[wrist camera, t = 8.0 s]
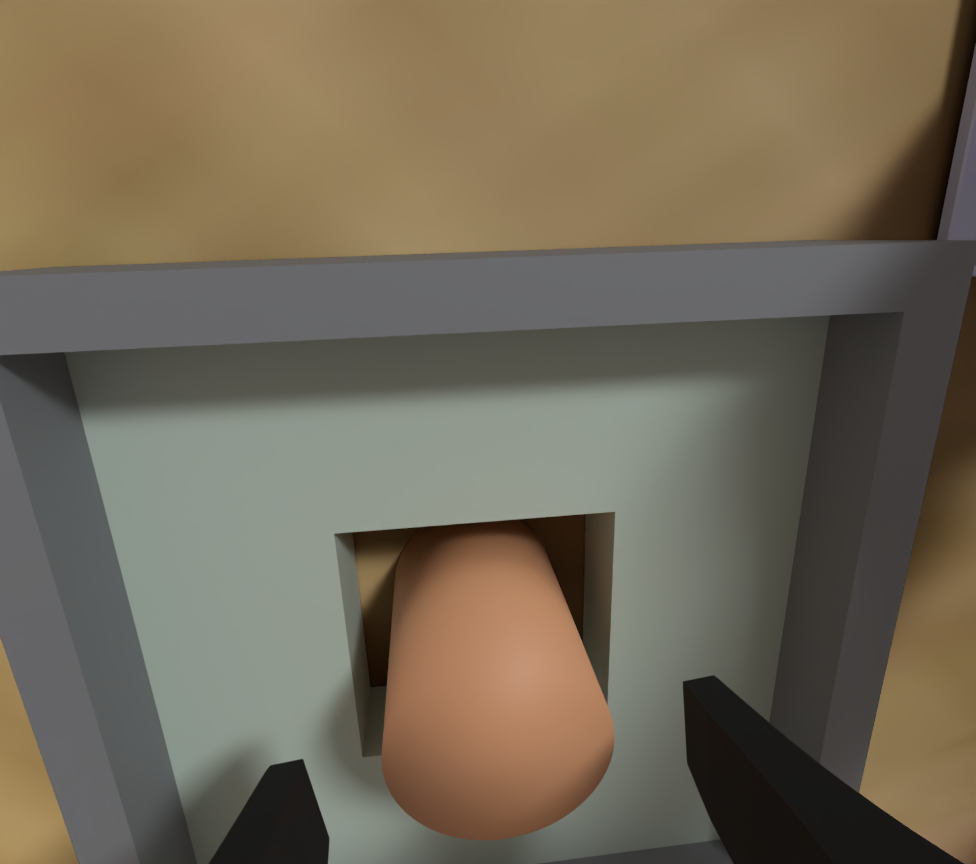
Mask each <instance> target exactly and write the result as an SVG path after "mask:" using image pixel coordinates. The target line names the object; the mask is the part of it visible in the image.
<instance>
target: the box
mask: <svg viewBox="0 0 976 864" xmlns="http://www.w3.org/2000/svg"><path fill="white" fill-rule="evenodd" d="M975 261H976V240H805V241H776V242H748V243H720V244H692V245H664V246H636V247H608V248H580V249H552V250H524V251H496V252H468V253H440V254H412V255H384V256H356V257H328V258H300V259H272V260H244V261H215V262H187V263H159V264H131V265H103V266H75V267H51V268H37V269H24V270H11V271H0V637H1V640H2V643H3V646H4V649H5V652H6V655H7V658H8V660H9V663H10V666H11V669H12V672H13V675H14V678H15V681H16V683H17V686H18V689H19V692H20V695H21V698H22V701H23V704H24V707H25V709H26V712H27V715H28V718H29V721H30V724H31V727H32V730H33V732H34V735H35V738H36V741H37V744H38V747H39V750H40V753H41V755H42V758H43V761H44V764H45V767H46V770H47V773H48V776H49V779H50V781H51V784H52V787H53V790H54V793H55V796H56V799H57V802H58V804H59V807H60V810H61V813H62V816H63V819H64V822H65V825H66V827H67V830H68V833H69V836H70V839H71V842H72V845H73V848H74V851H75V853H76V856H77V859H78V862H79V864H208V863H209V862H210V860H211V859H212V857H213V856H214V854H215V853H216V851H217V849H218V848H219V846H220V845H221V843H222V841H223V840H224V838H225V837H226V835H227V833H228V832H229V830H230V829H231V827H232V825H233V824H234V822H235V820H236V819H237V817H238V816H239V814H240V812H241V811H242V809H243V807H244V806H245V804H246V802H247V801H248V799H249V797H250V796H251V794H252V792H253V791H254V789H255V788H256V786H257V784H258V783H259V781H260V779H261V778H262V776H263V774H264V773H265V771H266V770H267V769H268V767H269V766H270V765H274V764H279V763H284V762H289V761H294V760H299V759H303V760H304V763H305V766H306V769H307V772H308V775H309V778H310V781H311V784H312V787H313V790H314V793H315V796H316V799H317V802H318V805H319V808H320V811H321V814H322V817H323V820H324V823H325V826H326V829H327V832H328V835H329V838H330V840H329V855H328V864H733V862H732V860H731V858H730V856H729V854H728V852H727V850H726V849H725V847H724V845H723V843H722V841H721V839H720V837H719V835H718V833H717V832H716V830H715V828H714V826H713V824H712V822H711V820H710V818H709V815H708V813H707V811H706V808H705V806H704V803H703V801H702V799H701V796H700V794H699V792H698V789H697V787H696V784H695V782H694V779H693V777H692V774H691V772H690V769H689V767H688V764H687V755H686V736H685V717H684V699H683V681H688V680H692V679H697V678H702V677H707V676H712V675H714V676H716V677H717V678H718V679H720V680H721V681H722V682H723V683H724V684H725V685H727V686H728V687H729V688H730V689H731V690H732V691H733V692H735V693H736V694H737V695H738V696H739V697H740V698H741V699H743V700H744V701H745V702H746V703H747V704H748V705H749V706H751V707H752V708H753V709H754V710H755V711H756V712H758V713H759V714H760V715H761V716H762V717H763V718H765V719H766V720H767V721H768V722H769V723H771V724H772V725H773V726H774V727H775V728H776V729H778V730H779V731H780V732H781V733H782V734H784V735H785V736H786V737H787V738H789V739H790V740H791V741H792V742H793V743H795V744H796V745H797V746H798V747H800V748H801V749H802V750H804V751H805V752H806V753H807V754H809V755H810V756H811V757H812V758H814V759H815V760H816V761H817V762H819V763H820V764H821V765H822V766H824V767H825V768H826V769H828V770H829V771H830V772H831V773H833V774H834V775H835V776H837V777H838V778H839V779H841V780H842V781H843V782H845V783H846V784H847V785H849V786H850V787H851V788H853V789H854V790H856V791H857V792H858V793H859V790H860V785H861V780H862V776H863V771H864V767H865V762H866V758H867V753H868V749H869V744H870V739H871V735H872V730H873V726H874V721H875V717H876V712H877V708H878V703H879V698H880V694H881V689H882V685H883V680H884V676H885V671H886V666H887V662H888V657H889V653H890V648H891V644H892V639H893V635H894V630H895V625H896V621H897V616H898V612H899V607H900V603H901V598H902V594H903V589H904V584H905V580H906V575H907V571H908V566H909V562H910V557H911V553H912V548H913V543H914V539H915V534H916V530H917V525H918V521H919V516H920V511H921V507H922V502H923V498H924V493H925V489H926V484H927V480H928V475H929V470H930V466H931V461H932V457H933V452H934V448H935V443H936V439H937V434H938V429H939V425H940V420H941V416H942V411H943V407H944V402H945V397H946V393H947V388H948V384H949V379H950V375H951V370H952V366H953V361H954V356H955V352H956V347H957V343H958V338H959V334H960V329H961V325H962V320H963V315H964V311H965V306H966V302H967V297H968V293H969V288H970V284H971V279H972V274H973V270H974V265H975ZM580 514H586V520H585V564H584V609H583V645H584V648H585V650H586V653H587V655H588V658H589V660H590V663H591V665H592V668H593V670H594V673H595V675H596V678H597V680H598V683H599V685H600V688H601V690H602V693H603V695H604V698H605V700H606V703H607V705H608V708H609V710H610V713H611V717H612V720H613V725H614V734H615V737H614V749H613V754H612V758H611V761H610V764H609V766H608V769H607V771H606V773H605V775H604V777H603V778H602V780H601V782H600V783H599V785H598V786H597V787H596V789H595V790H594V792H593V793H592V794H591V795H590V796H589V797H588V798H587V799H586V800H585V801H584V802H583V803H582V804H581V805H580V806H578V807H577V808H576V809H575V810H574V811H572V812H571V813H569V814H568V815H567V816H565V817H564V818H562V819H560V820H558V821H557V822H555V823H553V824H551V825H549V826H547V827H545V828H542V829H540V830H538V831H535V832H531V833H528V834H525V835H522V836H517V837H512V838H507V839H499V840H470V839H462V838H457V837H452V836H448V835H445V834H442V833H439V832H436V831H434V830H432V829H429V828H427V827H426V826H424V825H422V824H420V823H419V822H417V821H416V820H414V819H413V818H412V817H410V816H409V815H408V814H407V813H406V812H405V811H404V810H403V809H402V808H401V807H400V806H399V805H398V804H397V802H396V801H395V800H394V798H393V797H392V795H391V793H390V791H389V789H388V787H387V785H386V782H385V779H384V775H383V771H382V762H381V758H382V743H383V730H384V717H385V704H386V691H387V686H378V687H370V679H369V670H368V662H367V653H366V645H365V636H364V627H363V619H362V610H361V601H360V593H359V584H358V576H357V567H356V558H355V550H354V541H353V533H352V532H362V531H374V530H387V529H400V528H413V527H426V526H439V525H451V524H464V523H477V522H490V521H503V520H516V519H528V518H541V517H554V516H567V515H580Z"/></svg>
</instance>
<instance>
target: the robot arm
mask: <svg viewBox="0 0 976 864" xmlns="http://www.w3.org/2000/svg"><path fill="white" fill-rule="evenodd" d="M937 240H976V45H975V50H974V55H973V60H972V65H971V70H970V75H969V80H968V85H967V90H966V95H965V100H964V105H963V110H962V115H961V121H960V126H959V131H958V136H957V141H956V146H955V151H954V156H953V161H952V166H951V171H950V176H949V181H948V186H947V191H946V197H945V202H944V207H943V212H942V217H941V222H940V227H939V232H938V237H937ZM972 276H976V261H975V265H974V270H973V274H972ZM683 699H684V717H685V736H686V755H687V764H688V767H689V769H690V772H691V774H692V777H693V779H694V782H695V784H696V787H697V789H698V792H699V794H700V796H701V799H702V801H703V803H704V806H705V808H706V811H707V813H708V815H709V818H710V820H711V822H712V824H713V826H714V828H715V830H716V832H717V833H718V835H719V837H720V839H721V841H722V843H723V845H724V847H725V849H726V850H727V852H728V854H729V856H730V858H731V860H732V862H733V864H964V863H962V862H961V861H959V860H957V859H956V858H954V857H953V856H951V855H949V854H948V853H946V852H945V851H943V850H942V849H940V848H938V847H937V846H935V845H934V844H932V843H931V842H929V841H928V840H926V839H925V838H923V837H922V836H920V835H918V834H917V833H915V832H914V831H912V830H911V829H909V828H908V827H906V826H905V825H903V824H902V823H901V822H899V821H898V820H896V819H895V818H893V817H892V816H890V815H889V814H888V813H886V812H885V811H883V810H882V809H880V808H879V807H878V806H876V805H875V804H873V803H872V802H871V801H869V800H868V799H867V798H865V797H864V796H862V795H861V794H860V793H858V792H857V791H856V790H854V789H853V788H851V787H850V786H849V785H847V784H846V783H845V782H843V781H842V780H841V779H839V778H838V777H837V776H835V775H834V774H833V773H831V772H830V771H829V770H828V769H826V768H825V767H824V766H822V765H821V764H820V763H819V762H817V761H816V760H815V759H814V758H812V757H811V756H810V755H809V754H807V753H806V752H805V751H804V750H802V749H801V748H800V747H798V746H797V745H796V744H795V743H793V742H792V741H791V740H790V739H789V738H787V737H786V736H785V735H784V734H782V733H781V732H780V731H779V730H778V729H776V728H775V727H774V726H773V725H772V724H771V723H769V722H768V721H767V720H766V719H765V718H763V717H762V716H761V715H760V714H759V713H758V712H756V711H755V710H754V709H753V708H752V707H751V706H749V705H748V704H747V703H746V702H745V701H744V700H743V699H741V698H740V697H739V696H738V695H737V694H736V693H735V692H733V691H732V690H731V689H730V688H729V687H728V686H727V685H725V684H724V683H723V682H722V681H721V680H720V679H718V678H717V677H716V676H714V675H712V676H707V677H702V678H697V679H692V680H688V681H683ZM329 840H330V838H329V835H328V832H327V829H326V826H325V823H324V820H323V817H322V814H321V811H320V808H319V805H318V802H317V799H316V796H315V793H314V790H313V787H312V784H311V781H310V778H309V775H308V772H307V769H306V766H305V763H304V760H303V759H299V760H294V761H289V762H284V763H279V764H274V765H270V766H269V767H268V769H267V770H266V771H265V773H264V774H263V776H262V778H261V779H260V781H259V783H258V784H257V786H256V788H255V789H254V791H253V792H252V794H251V796H250V797H249V799H248V801H247V802H246V804H245V806H244V807H243V809H242V811H241V812H240V814H239V816H238V817H237V819H236V820H235V822H234V824H233V825H232V827H231V829H230V830H229V832H228V833H227V835H226V837H225V838H224V840H223V841H222V843H221V845H220V846H219V848H218V849H217V851H216V853H215V854H214V856H213V857H212V859H211V860H210V862H209V863H208V864H328V855H329Z"/></svg>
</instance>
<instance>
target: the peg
mask: <svg viewBox="0 0 976 864" xmlns="http://www.w3.org/2000/svg"><path fill="white" fill-rule="evenodd" d="M614 737H615V734H614V725H613V720H612V717H611V713H610V710H609V708H608V705H607V703H606V700H605V698H604V695H603V693H602V690H601V688H600V685H599V683H598V680H597V678H596V675H595V673H594V670H593V668H592V665H591V663H590V660H589V658H588V655H587V653H586V650H585V648H584V645H583V643H582V640H581V638H580V635H579V633H578V630H577V628H576V625H575V623H574V620H573V618H572V615H571V613H570V610H569V608H568V605H567V603H566V600H565V598H564V595H563V593H562V590H561V588H560V585H559V583H558V580H557V578H556V575H555V573H554V570H553V568H552V565H551V563H550V560H549V558H548V555H547V553H546V551H545V548H544V546H543V544H542V542H541V541H540V539H539V538H538V536H537V535H536V534H535V533H534V532H533V531H532V530H531V529H530V528H529V527H528V526H527V525H526V524H524V523H523V522H522V521H520V520H518V519H516V520H503V521H490V522H477V523H464V524H451V525H439V526H426V527H422V528H421V529H420V530H418V531H417V532H416V533H415V534H414V535H413V536H412V537H411V539H410V540H409V542H408V543H407V544H406V546H405V547H404V549H403V551H402V553H401V555H400V558H399V560H398V563H397V568H396V573H395V586H394V599H393V612H392V625H391V638H390V651H389V664H388V678H387V691H386V704H385V717H384V730H383V743H382V758H381V762H382V771H383V775H384V779H385V782H386V785H387V787H388V789H389V791H390V793H391V795H392V797H393V798H394V800H395V801H396V802H397V804H398V805H399V806H400V807H401V808H402V809H403V810H404V811H405V812H406V813H407V814H408V815H409V816H410V817H412V818H413V819H414V820H416V821H417V822H419V823H420V824H422V825H424V826H426V827H427V828H429V829H432V830H434V831H436V832H439V833H442V834H445V835H448V836H452V837H457V838H462V839H470V840H499V839H507V838H512V837H517V836H522V835H525V834H528V833H531V832H535V831H538V830H540V829H542V828H545V827H547V826H549V825H551V824H553V823H555V822H557V821H558V820H560V819H562V818H564V817H565V816H567V815H568V814H569V813H571V812H572V811H574V810H575V809H576V808H577V807H578V806H580V805H581V804H582V803H583V802H584V801H585V800H586V799H587V798H588V797H589V796H590V795H591V794H592V793H593V792H594V790H595V789H596V787H597V786H598V785H599V783H600V782H601V780H602V778H603V777H604V775H605V773H606V771H607V769H608V766H609V764H610V761H611V758H612V754H613V749H614Z"/></svg>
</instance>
